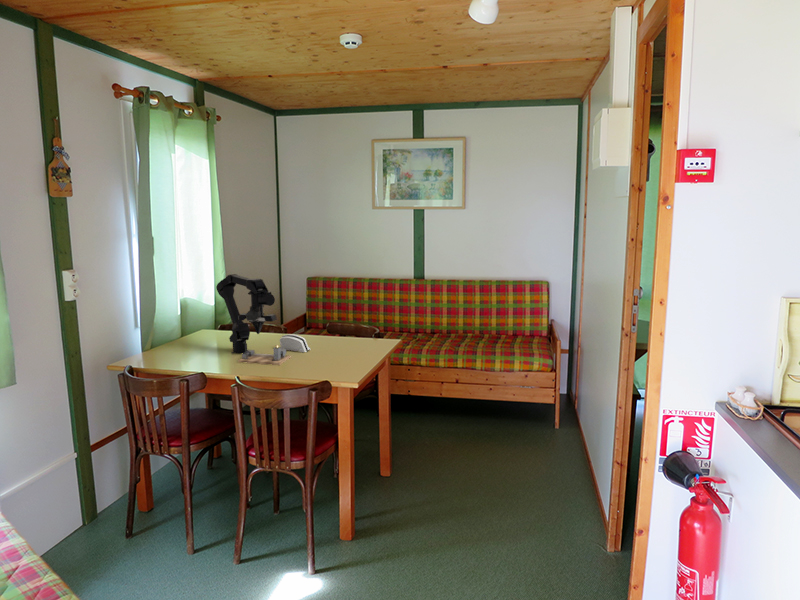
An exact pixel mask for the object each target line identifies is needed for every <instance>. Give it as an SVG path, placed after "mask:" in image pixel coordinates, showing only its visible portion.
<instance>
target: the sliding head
mask: <svg viewBox="0 0 800 600" xmlns="http://www.w3.org/2000/svg"><path fill="white" fill-rule="evenodd" d="M274 346H275V347H273V355H274V360H278V361H279V360H280V359H281V356H284V355H287V350H286V349H281V346H280V345H279V344H275V345H274Z"/></svg>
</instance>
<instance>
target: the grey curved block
mask: <svg viewBox="0 0 800 600" xmlns="http://www.w3.org/2000/svg"><path fill="white" fill-rule="evenodd" d="M279 343H280V345H279V346H280V348H281V349H286V351H290V350H291V352H292V351H293V352H297V351H299V352H298V353H304V352H306V353H307V351H308V350H311V348H310V347H309V345H308V343H307V340H306V338H304V337H303V336H300V335H297V334H291V333H289V334H284V335H282V336H281V337H280V338H279Z"/></svg>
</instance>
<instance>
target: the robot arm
mask: <svg viewBox="0 0 800 600" xmlns="http://www.w3.org/2000/svg"><path fill="white" fill-rule="evenodd" d="M237 285H239V286H242V287H246V289H247V290H249V291H248V293H247V294H248V295H250V303H251V304H250V306H249V310H248V311H247V312H243V313H240V311H239V309H238V306H237V303H236V300H235V297H234V294H235V287H236V286H237ZM216 291H217V294H218V295H219V296H220V297H221V298H222V299H223V300H224V302H225V306H226V309H227V311H228V314H229V317H230V320H231V323H232V328H231V332H232V333H231V335H230V336H229V337H228V339H229V342H230V343H232V351H231V354H238V353H245V352H246V351H248V350H249V349H248V343H247V341H248V340H249V339H250V333H251V331H250V330H251V329H250V328H249V324H248V322H249V323H251V324H252V326H253V327H254V330H255V332H256V334H257V335H260V333H261V330H262V327H263V325H264V324H265V322H274V321H277V319H278V316H277V314H275V313H273V314H272V313H269V314H268V313H267V315H265V312H264V307H265V306H270V307H271V306H273V305H274V304H275V302H276V301H275V300H276V299H275V295H273V294H272V291H269V290H268V288H267V286H266V284H265V282H264V280H263V279H262V278H248V277H245V276H241V275H238V274H236V273H233V274H227V276H226V277H225V278H223V279H221V280H220V281H219V282H218V283H217V284H216ZM245 320H247V321H248V322H244V321H245Z"/></svg>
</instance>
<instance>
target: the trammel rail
mask: <svg viewBox="0 0 800 600" xmlns="http://www.w3.org/2000/svg"><path fill="white" fill-rule="evenodd" d="M247 350H248V351H246V352H245V353H243V354H241V355H242V356H241V358H242V359H247V358H248V356H254V357H271V358H274V354H272V355H270V353H255V349H247ZM281 358H285V355H284V356H281Z"/></svg>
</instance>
